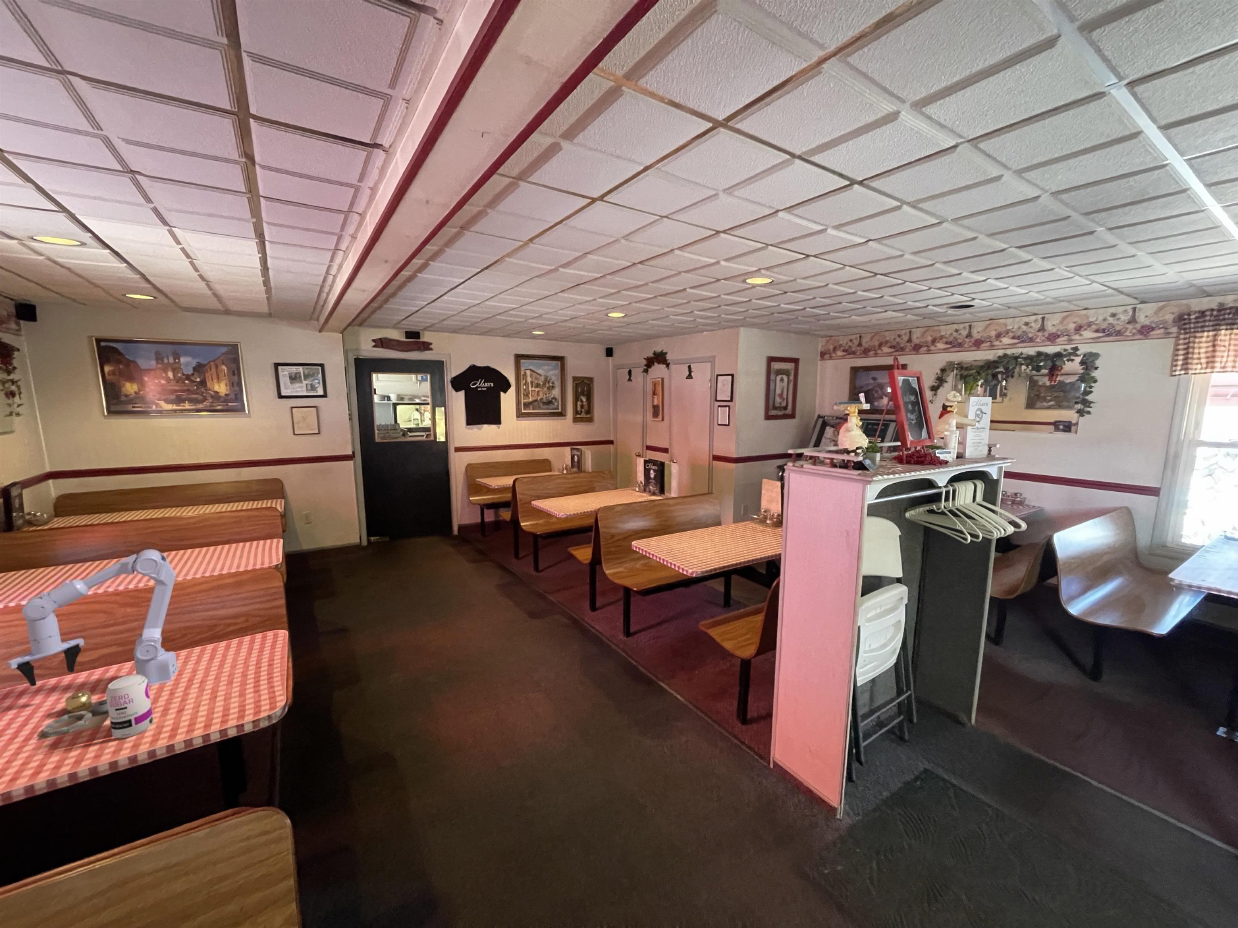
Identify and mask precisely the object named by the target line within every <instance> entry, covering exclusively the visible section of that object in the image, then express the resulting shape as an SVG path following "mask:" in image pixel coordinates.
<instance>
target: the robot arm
mask: <svg viewBox="0 0 1238 928" xmlns="http://www.w3.org/2000/svg"><path fill="white" fill-rule="evenodd" d="M135 572H136V573H137V574H139V575H142V576H145V577H149V578H150V579H151V580H152V581H154V582H155V585H154V588H153V592H152V597H151V600H150V604H149V607H148V611H147V614H146V618H145V622H144V625H143V629H142V632H141V634H140V635H139V636H138V637H137V638H136V640H135V648H134V650H133V656H134V658H133V659H134V660H133V661H134V667H135V674H142V675H143V676H144V677H145V678H147V680H148V687H149V686H153V685H157V684H163V683H168V682H170V681H171V680H172V679H173V677H175V675H176V674H177V672H178V671H179V668H178V662H177V656H176V652H175V651H167V650H165V649H164V648H163V647H162V640H163V637H162V632H163V631H162V630H163V626H164V622H165V620H166V619H165V618H166V616H167V611H168V607H169V604H170V600H171V596H172V593H173V592H172V591H173V587H174V585H175V582H176V576H177V575H176V572H175V571H174V569H173V567H172V565H171V563H170V562H169V561H168V559H167V556H166V555H165V554H163V553H162V552H160V551H158V550H157V549H153V548H151V549H145V550H142V551H140V552H139V553H138V554H137V553H135V554H132V555H130V556H128V557H125V558H122V559H121V560H119V561H118V562H115V563H114V564H111V565H109V566H107V567H106V568H103V569H102V570H100V571H98V572H96V573H94V574H92V575H89V576H88V577H86V578H84V579H72V580H70V581H69V580H66V581H63V582H61V585H60V586H58V587H56V588H54V589H51V590H49V591H47V592H46V591H43V592H41V593H40V594H39V595H37V596H34V597H31V598H30V599H29V600H28V601H27V602H26V603H25V605H23V607H22V611H21V616H22V617H23V618H25V621H26V623H27V624H26V629H27V634H28V640H29V645H30V650H31V652H28V653H26V654H23V655H21V656H18V657H16V658H14V659H10V660H8V661H7V663H8V668H9V669H12V670H13V669H16V670H17V671H19V672H20V673H21V674H22V675H23V676H24V677H25V679H26V680H27V681H28V682H27V683H28V684H29V686H30V687H35V686H37V680H36V677H35V665H32V663H31V662H34V661H37V660H40V659H41V660H42V659H43V658H46V657H50V656H52V655H56V654H58V653H61V652H62V653H63V655H64V659H65V663H66V664H65V665H66V670H67V672H68V673H74V672H75V665H76V662H77V659H78V657H79V655H80V653H81V652H82V648H81V647H82V646H84V645H85V642H84V639H83V637H82V638H81V637H79V638H76V639H75V638H74V639H72V640H68V641H64V642H63V641H62V640H61V639H62V638H61V633H60V629H59V627H60V626H59V623H58V618H57V617H56V611H55V610H56V609H58V610H59V609H61V608H63V607H64V606H67V605H69V604H71V603H73V602H75V601H77V600H79V599H81V598H83V597H85V596H87V595H88V594H89V591H90V589H92V588H94V587H97V586H99V585H101V584H103V583H105V582H108V581H110V580H112V579H114V578H117V577H118V576H120V575H130V576H131V575H133V576H134V575H135Z"/></svg>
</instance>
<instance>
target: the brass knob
mask: <svg viewBox="0 0 1238 928" xmlns="http://www.w3.org/2000/svg"><path fill="white" fill-rule="evenodd" d="M64 702H65V708H66V710H67V714H72V713H77V712H81V711H87V710H89V709H90V708H91V707H92V702H93V700H92V694H91V691H89V690H86V691H83V690H82V691H81V690H80V691H76V692H73V693H72V694H70V695H69V696H67V697H66V698H65V699H64Z"/></svg>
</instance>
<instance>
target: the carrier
mask: <svg viewBox="0 0 1238 928" xmlns="http://www.w3.org/2000/svg"><path fill="white" fill-rule="evenodd" d="M108 719H110V717H109V711H108V705H107V698H105V699H102V700H98V701H94V702H93V701H92V707H91V708H90V709H89V710H87V711H81V712H77V713H72V714H67V709H66V710H64V712H63V713H62V714H61V715H60V716H59V717H58V718H56V719H54V720H51V721H50V722H48V724H47V725H45V726H44V727H43V729H42V732H43V733H42V734H41V735H40V736H39V737H38V738H37V739H36V740H35V741H36V742H38V741H42V740H46V739H50V738H55V737H56V738H57V737H60V736H65V735H68V734H74V733H78V732H83V731H87V730H92V729H96V728H99V727H103V725H104V723H106V721H107V720H108Z"/></svg>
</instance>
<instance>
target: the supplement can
mask: <svg viewBox="0 0 1238 928" xmlns="http://www.w3.org/2000/svg"><path fill="white" fill-rule="evenodd" d="M105 697H106V698H105V699H107V705H108V711H109V724H110V729H111V736H112V737H113V738H117V739H127V738H131V737H134V736H136V735H138V734H142V732H144V731H146V730H147V729H149V728H150V727H151V725H152V724H153V723H154V715H153V709H152V703H151V701H152V700H151V696H150V688H149V686H148V680H147V678H145V677H144V676H143V675H142V674H136V673H134V674H129V675H125V676H123V677H120V678H117V679H115V680H113V681H112V682H110V683H109V684H108V686H107V688H106V691H105Z"/></svg>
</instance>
